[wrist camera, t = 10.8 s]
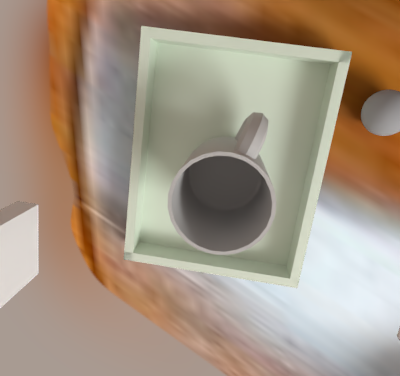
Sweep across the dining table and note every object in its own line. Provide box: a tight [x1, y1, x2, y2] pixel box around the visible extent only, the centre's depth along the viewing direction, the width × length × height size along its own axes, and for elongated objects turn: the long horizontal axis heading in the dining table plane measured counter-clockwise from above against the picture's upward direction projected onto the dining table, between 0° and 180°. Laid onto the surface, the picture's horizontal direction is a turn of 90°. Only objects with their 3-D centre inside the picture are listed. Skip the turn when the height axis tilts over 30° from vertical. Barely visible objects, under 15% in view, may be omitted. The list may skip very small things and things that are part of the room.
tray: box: [124, 26, 352, 288], centre depth 30 cm, size 20×16×3 cm
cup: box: [168, 112, 276, 255], centre depth 27 cm, size 7×10×9 cm
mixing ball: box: [361, 90, 400, 136], centre depth 28 cm, size 4×4×4 cm
